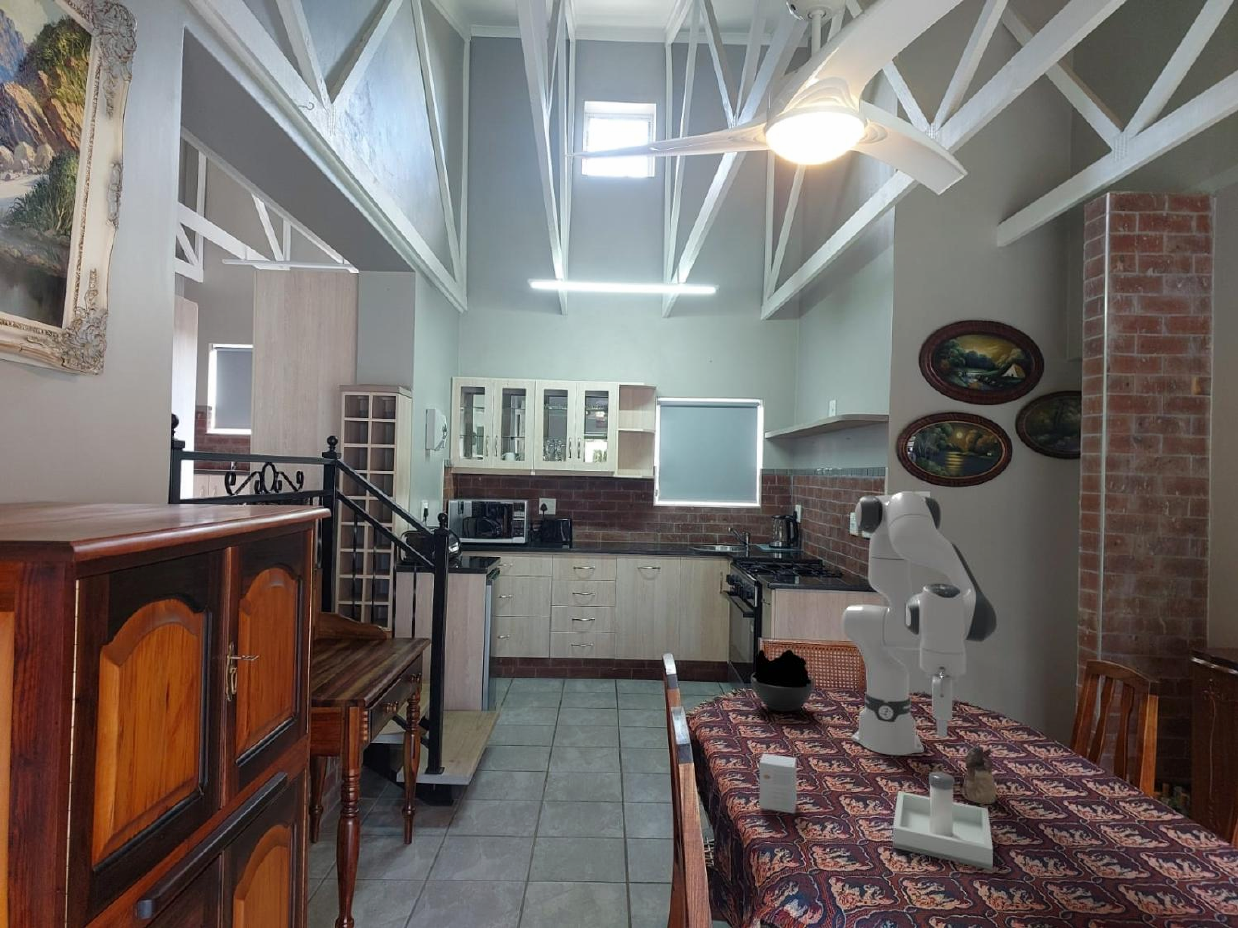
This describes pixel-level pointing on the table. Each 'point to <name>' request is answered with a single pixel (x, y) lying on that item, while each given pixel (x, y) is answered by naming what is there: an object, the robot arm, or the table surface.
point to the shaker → (941, 803)
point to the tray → (962, 847)
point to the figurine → (979, 777)
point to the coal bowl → (782, 681)
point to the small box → (778, 783)
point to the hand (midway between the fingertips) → (942, 727)
